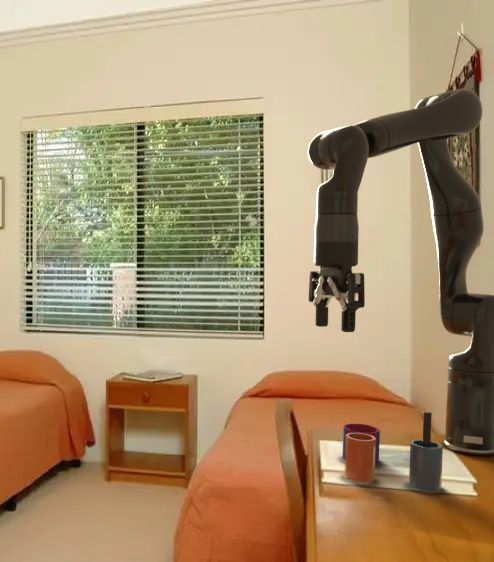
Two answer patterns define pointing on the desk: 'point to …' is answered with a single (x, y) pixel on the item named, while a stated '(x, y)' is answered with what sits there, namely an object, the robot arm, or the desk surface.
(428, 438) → the chopstick
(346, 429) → the mug
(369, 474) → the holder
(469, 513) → the desk surface
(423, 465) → the holder
